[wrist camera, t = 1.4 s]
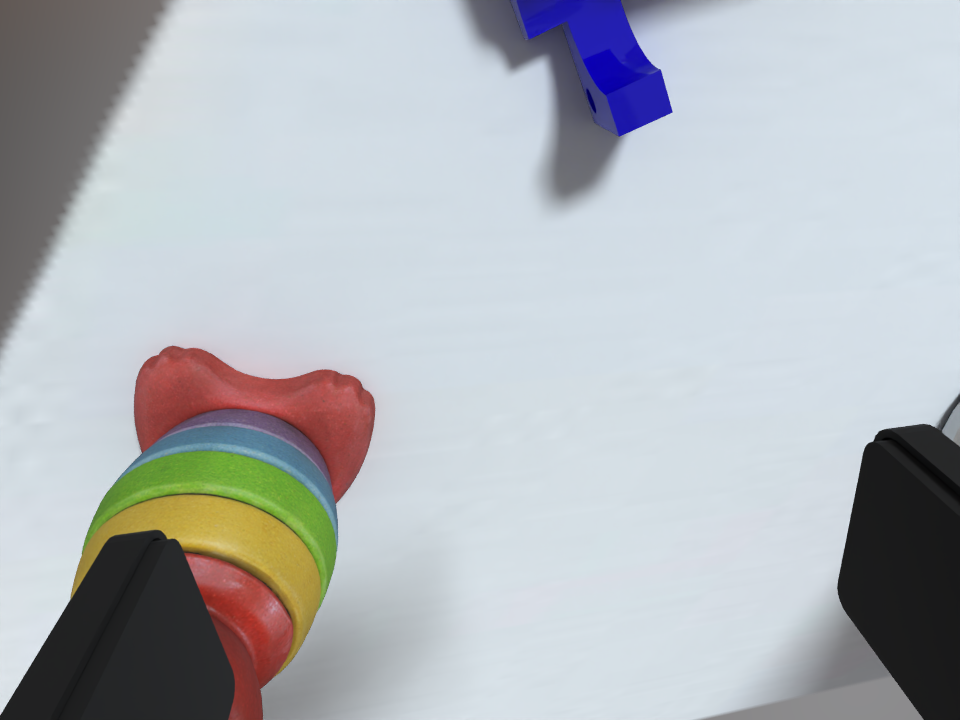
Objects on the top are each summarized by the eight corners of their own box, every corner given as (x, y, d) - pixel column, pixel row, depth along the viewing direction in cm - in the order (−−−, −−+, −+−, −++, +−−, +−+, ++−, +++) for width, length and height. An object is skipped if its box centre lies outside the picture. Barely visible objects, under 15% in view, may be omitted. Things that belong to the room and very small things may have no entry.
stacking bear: (382, 375, 31) (339, 734, 15) (352, 538, 35) (294, 950, 20) (141, 336, 29) (-190, 696, 14) (140, 513, 34) (-112, 943, 18)
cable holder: (482, -75, 24) (492, -94, 20) (573, -122, 23) (599, -149, 20) (559, 138, 27) (579, 154, 24) (639, 100, 27) (672, 112, 23)
